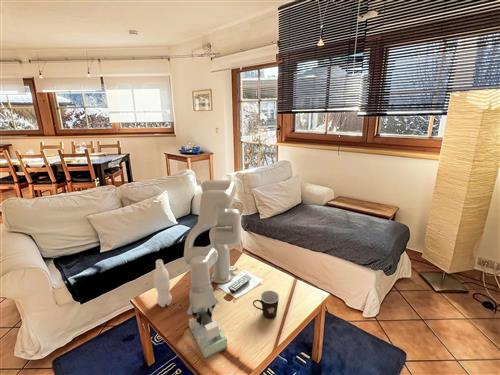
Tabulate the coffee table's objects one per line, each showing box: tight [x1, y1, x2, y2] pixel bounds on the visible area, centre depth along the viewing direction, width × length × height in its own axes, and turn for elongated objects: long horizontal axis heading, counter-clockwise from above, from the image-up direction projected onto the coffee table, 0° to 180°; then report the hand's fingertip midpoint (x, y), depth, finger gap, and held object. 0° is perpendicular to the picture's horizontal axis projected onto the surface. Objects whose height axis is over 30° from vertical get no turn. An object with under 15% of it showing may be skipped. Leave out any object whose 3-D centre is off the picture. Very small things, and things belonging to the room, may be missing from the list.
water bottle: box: [153, 258, 173, 308], centre depth 133 cm, size 7×7×25 cm
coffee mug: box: [252, 290, 280, 320], centre depth 127 cm, size 12×9×10 cm
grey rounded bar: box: [200, 309, 220, 340], centre depth 115 cm, size 19×5×5 cm, turn 31°
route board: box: [187, 316, 228, 360], centre depth 116 cm, size 10×20×5 cm, turn 31°
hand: (204, 320), depth 116 cm, fingers closed on grey rounded bar, 4 cm apart
